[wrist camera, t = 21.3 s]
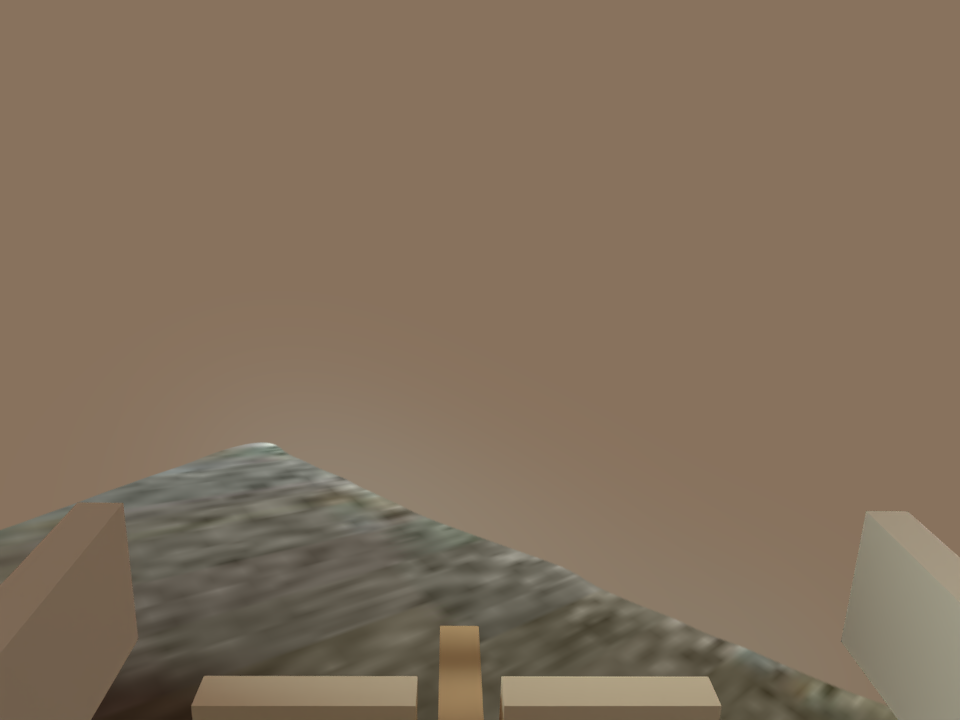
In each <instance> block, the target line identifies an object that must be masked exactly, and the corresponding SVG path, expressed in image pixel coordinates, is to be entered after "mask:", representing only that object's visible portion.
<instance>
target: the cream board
mask: <svg viewBox="0 0 960 720" xmlns="http://www.w3.org/2000/svg"><path fill="white" fill-rule="evenodd" d="M191 711H192V720H417V676H204V677H203V679H202V682H201V684H200V686H199V689H198V691H197V693H196V696H195V698H194V700H193V703H192V705H191ZM720 713H721V704H720V702H719V699H718V697H717V695H716V693H715V691H714V688H713V686H712V684H711V682H710V680H709V677H571V676H501V697H500V718H499V720H720Z"/></svg>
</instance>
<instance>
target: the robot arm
mask: <svg viewBox="0 0 960 720" xmlns="http://www.w3.org/2000/svg"><path fill="white" fill-rule="evenodd" d="M137 640H138V632H137V623H136V614H135V606H134V597H133V588H132V579H131V570H130V561H129V552H128V543H127V534H126V525H125V516H124V507H123V503H77V504H76V505H75V506H74V507H73V508H72V509H71V510H70V511H69V513H68V514H67V515H66V516H65V517H64V518H63V519H62V520H61V521H60V522H59V523H58V524H57V525H56V526H55V528H54V529H53V530H52V531H51V532H50V533H49V534H48V535H47V536H46V537H45V538H44V539H43V540H42V541H41V543H40V544H39V545H38V546H37V547H36V548H35V549H34V550H33V551H32V552H31V553H30V554H29V555H28V556H27V558H26V559H25V560H24V561H23V562H22V563H21V564H20V565H19V566H18V567H17V568H16V569H15V570H14V571H13V573H12V574H11V575H10V576H9V577H8V578H7V579H6V580H5V581H4V582H3V583H2V584H1V585H0V720H91V719H92V717H93V716H94V714H95V712H96V711H97V709H98V707H99V705H100V704H101V702H102V700H103V699H104V697H105V695H106V693H107V692H108V690H109V688H110V686H111V685H112V683H113V681H114V680H115V678H116V676H117V674H118V673H119V671H120V669H121V668H122V666H123V664H124V662H125V661H126V659H127V657H128V656H129V654H130V652H131V650H132V649H133V647H134V645H135V644H136V642H137ZM841 642H842V643H843V645H844V646H845V647H846V649H847V650H848V652H849V653H850V654H851V656H852V657H853V658H854V660H855V661H856V663H857V664H858V665H859V667H860V668H861V669H862V671H863V672H864V674H865V675H866V676H867V677H868V679H869V680H870V682H871V683H872V684H873V686H874V687H875V689H876V690H877V691H878V692H879V694H880V695H881V697H882V698H883V700H884V701H885V702H886V704H887V705H888V706H889V708H890V709H891V711H892V712H893V713H894V715H895V716H896V717H897V719H898V720H960V558H959V557H958V556H957V555H956V554H955V553H954V552H953V551H952V550H951V549H949V548H948V547H947V546H946V545H945V544H944V543H942V541H940V540H939V539H938V538H937V537H936V536H935V535H934V534H933V533H931V532H930V531H929V530H928V529H927V528H926V527H925V526H924V525H922V524H921V523H920V522H919V521H918V520H917V519H916V518H915V517H913V516H912V515H911V514H910V513H909V512H901V511H899V512H898V511H897V512H896V511H866V515H865V521H864V526H863V531H862V537H861V541H860V546H859V551H858V557H857V562H856V567H855V573H854V577H853V582H852V588H851V593H850V598H849V604H848V608H847V613H846V619H845V624H844V629H843V634H842V640H841Z"/></svg>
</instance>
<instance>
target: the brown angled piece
mask: <svg viewBox="0 0 960 720" xmlns="http://www.w3.org/2000/svg"><path fill="white" fill-rule="evenodd" d="M438 720H484V719H483V701H482V682H481V663H480V644H479V626H440V662H439V712H438Z"/></svg>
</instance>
